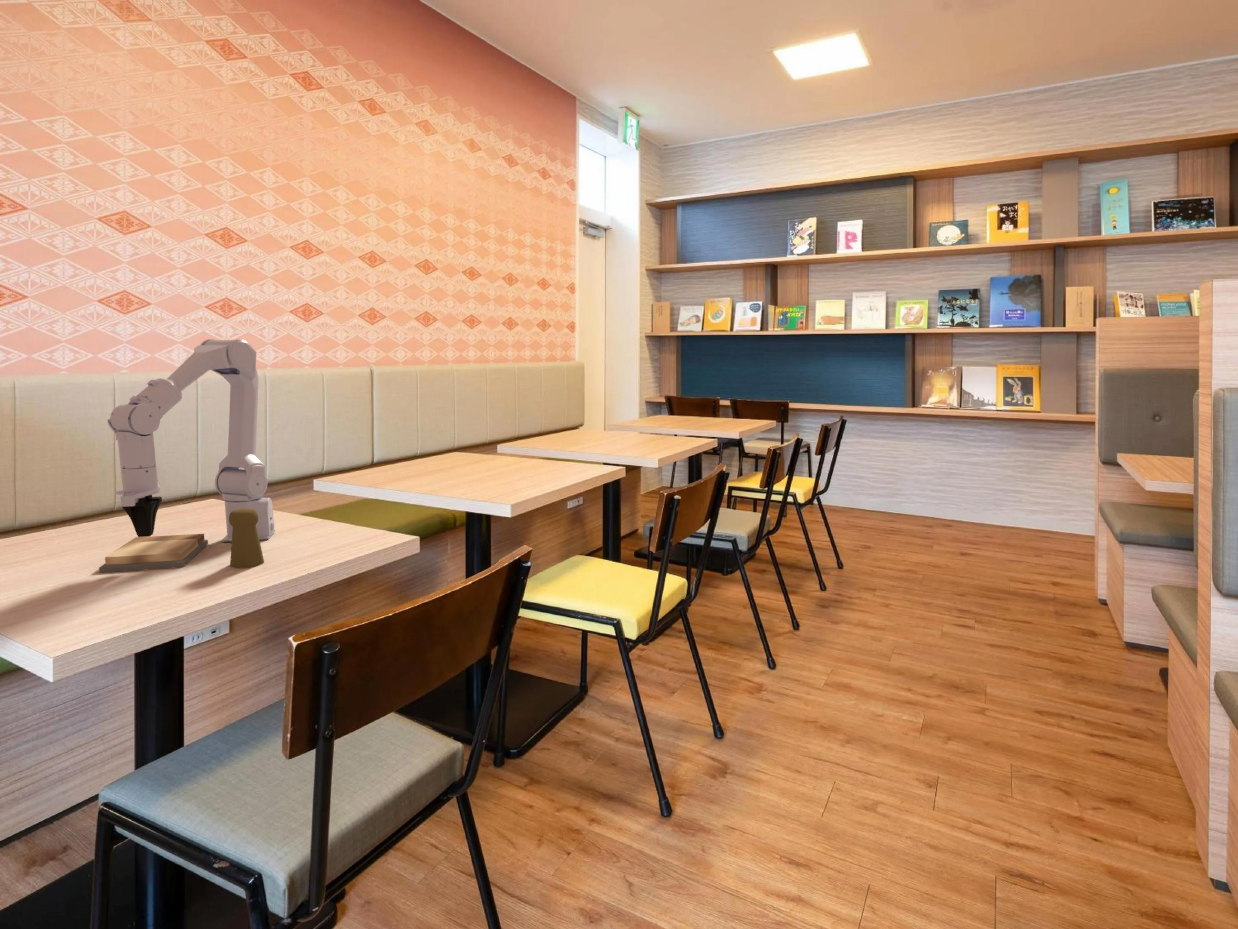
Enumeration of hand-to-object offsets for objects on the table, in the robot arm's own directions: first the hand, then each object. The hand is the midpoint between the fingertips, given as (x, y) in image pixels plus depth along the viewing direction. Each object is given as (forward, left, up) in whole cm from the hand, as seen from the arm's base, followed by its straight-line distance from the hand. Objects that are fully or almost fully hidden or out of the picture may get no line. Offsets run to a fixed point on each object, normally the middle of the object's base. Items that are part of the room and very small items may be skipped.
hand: (145, 535), depth 141 cm
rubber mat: (0, -5, -6) cm, 8 cm away
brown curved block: (0, -12, -6) cm, 13 cm away
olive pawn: (-18, +4, -6) cm, 20 cm away
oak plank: (0, -4, -5) cm, 6 cm away
